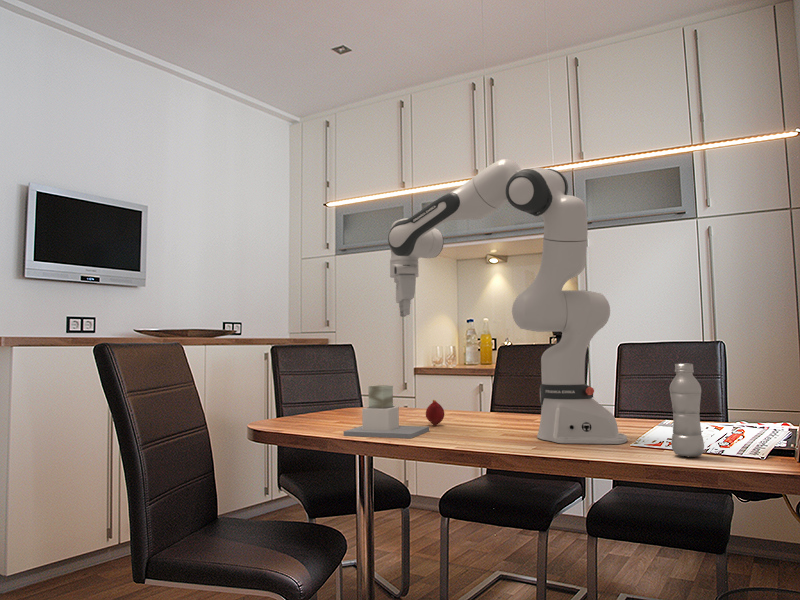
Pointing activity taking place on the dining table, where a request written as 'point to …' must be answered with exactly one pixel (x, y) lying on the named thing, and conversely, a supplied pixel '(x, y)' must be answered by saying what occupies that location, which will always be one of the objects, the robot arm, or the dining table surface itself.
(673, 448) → the plastic bottle
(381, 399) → the sage block
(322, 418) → the dining table surface
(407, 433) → the build base
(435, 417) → the onion
